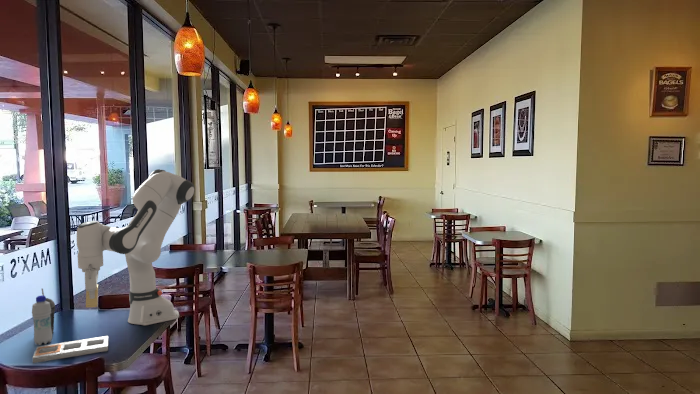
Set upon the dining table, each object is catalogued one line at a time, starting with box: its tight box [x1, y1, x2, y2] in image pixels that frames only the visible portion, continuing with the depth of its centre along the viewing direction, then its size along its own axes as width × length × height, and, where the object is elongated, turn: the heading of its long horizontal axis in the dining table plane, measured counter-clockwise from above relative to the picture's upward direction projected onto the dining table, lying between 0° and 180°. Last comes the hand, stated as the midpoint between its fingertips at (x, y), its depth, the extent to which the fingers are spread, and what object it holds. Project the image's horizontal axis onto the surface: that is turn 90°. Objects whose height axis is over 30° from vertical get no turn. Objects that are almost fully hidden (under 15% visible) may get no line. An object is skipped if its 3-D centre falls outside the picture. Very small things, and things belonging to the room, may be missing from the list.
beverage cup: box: [41, 288, 56, 334], centre depth 206 cm, size 7×7×20 cm
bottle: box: [31, 295, 53, 346], centre depth 195 cm, size 7×7×20 cm
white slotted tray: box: [32, 335, 109, 364], centre depth 187 cm, size 25×12×2 cm, turn 116°
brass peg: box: [85, 284, 99, 308], centre depth 189 cm, size 4×4×8 cm
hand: (92, 296), depth 189 cm, fingers closed on brass peg, 4 cm apart
